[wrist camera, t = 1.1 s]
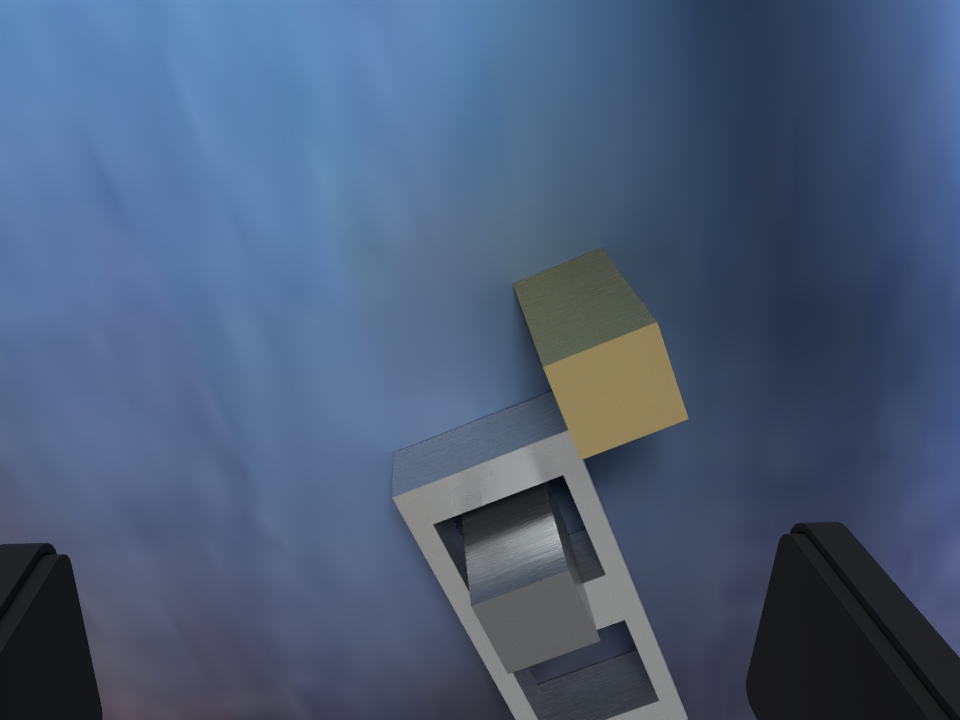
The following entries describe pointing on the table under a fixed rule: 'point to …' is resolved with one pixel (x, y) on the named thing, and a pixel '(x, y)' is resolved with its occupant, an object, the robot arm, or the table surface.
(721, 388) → the table surface
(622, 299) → the brass block
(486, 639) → the grey block holder tray
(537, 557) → the seated steel block
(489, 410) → the table surface
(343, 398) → the table surface
